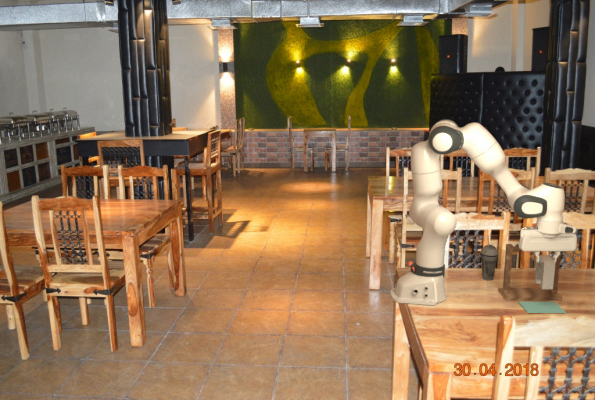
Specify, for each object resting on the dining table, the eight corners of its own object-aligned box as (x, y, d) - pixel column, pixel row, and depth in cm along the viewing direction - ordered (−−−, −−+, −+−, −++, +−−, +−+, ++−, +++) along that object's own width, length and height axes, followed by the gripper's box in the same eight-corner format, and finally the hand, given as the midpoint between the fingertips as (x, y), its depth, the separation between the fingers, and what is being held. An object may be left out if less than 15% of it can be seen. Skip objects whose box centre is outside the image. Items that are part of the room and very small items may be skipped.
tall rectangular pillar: (542, 289, 201) (544, 261, 199) (534, 282, 208) (537, 255, 205) (552, 289, 201) (555, 261, 198) (545, 282, 208) (547, 255, 205)
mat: (528, 313, 202) (528, 312, 202) (518, 303, 212) (518, 301, 211) (566, 314, 201) (566, 312, 201) (554, 303, 211) (554, 301, 211)
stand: (506, 300, 214) (510, 248, 209) (498, 290, 224) (501, 241, 219) (562, 300, 213) (567, 248, 208) (551, 290, 223) (556, 240, 218)
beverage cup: (497, 282, 233) (501, 238, 229) (480, 281, 235) (483, 237, 230) (495, 276, 240) (498, 233, 236) (478, 275, 242) (481, 232, 237)
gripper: (523, 229, 197) (520, 264, 200) (580, 228, 196) (577, 264, 199) (517, 224, 203) (514, 259, 206) (572, 224, 202) (569, 259, 205)
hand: (545, 261), depth 202 cm, fingers closed on tall rectangular pillar, 4 cm apart
